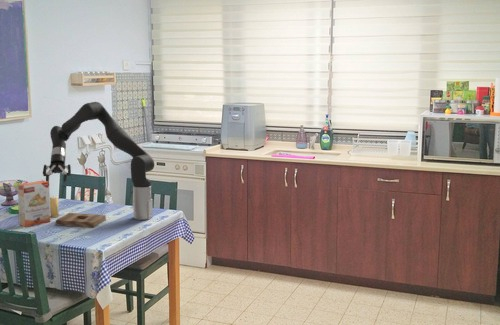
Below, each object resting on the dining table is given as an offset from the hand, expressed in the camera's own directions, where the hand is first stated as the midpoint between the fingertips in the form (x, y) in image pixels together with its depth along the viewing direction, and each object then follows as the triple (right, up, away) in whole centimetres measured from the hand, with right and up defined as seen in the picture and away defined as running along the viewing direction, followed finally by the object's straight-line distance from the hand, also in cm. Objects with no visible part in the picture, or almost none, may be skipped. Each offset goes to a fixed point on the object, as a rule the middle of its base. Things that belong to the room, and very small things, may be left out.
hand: (56, 181), depth 296 cm
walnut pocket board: (+19, -20, -17) cm, 32 cm away
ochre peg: (+2, -18, -7) cm, 19 cm away
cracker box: (-3, -20, -21) cm, 29 cm away
